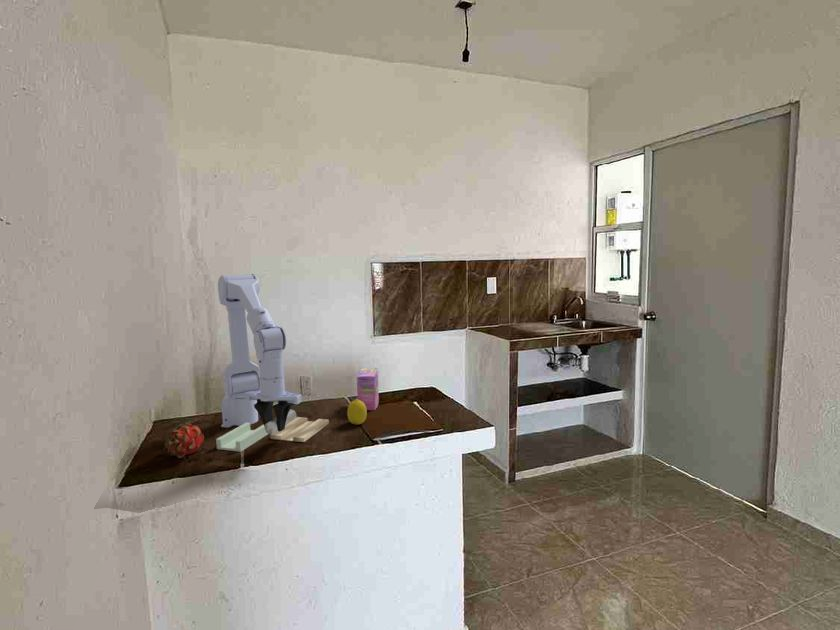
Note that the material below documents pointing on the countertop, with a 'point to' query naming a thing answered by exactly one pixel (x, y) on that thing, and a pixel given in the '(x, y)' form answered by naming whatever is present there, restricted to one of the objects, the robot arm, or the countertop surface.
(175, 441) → the dragon fruit
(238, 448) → the cradle
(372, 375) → the box
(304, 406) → the countertop surface
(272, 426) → the axle
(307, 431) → the grooved wooden board
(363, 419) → the lemon
